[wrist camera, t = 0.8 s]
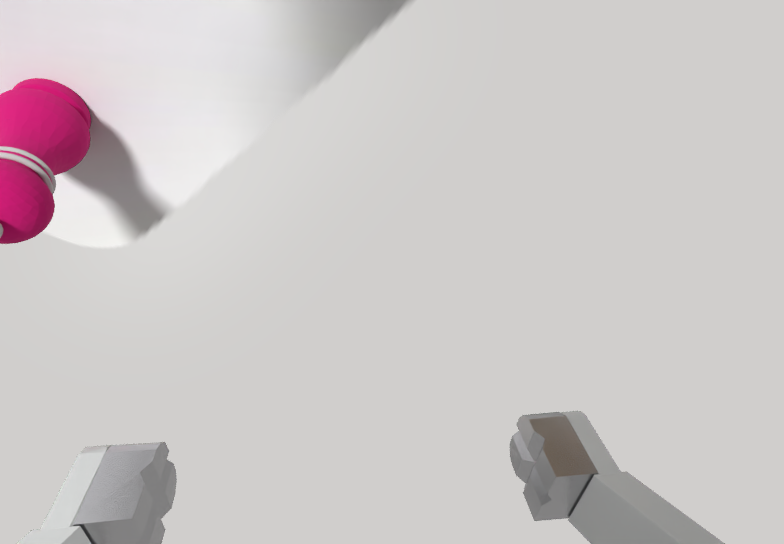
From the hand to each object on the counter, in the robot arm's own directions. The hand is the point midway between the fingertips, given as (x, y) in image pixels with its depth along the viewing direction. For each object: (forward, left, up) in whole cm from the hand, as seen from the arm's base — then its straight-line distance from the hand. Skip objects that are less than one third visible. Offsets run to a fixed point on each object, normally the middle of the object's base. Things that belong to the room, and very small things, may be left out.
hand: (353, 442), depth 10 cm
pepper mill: (-2, -21, -44) cm, 49 cm away
